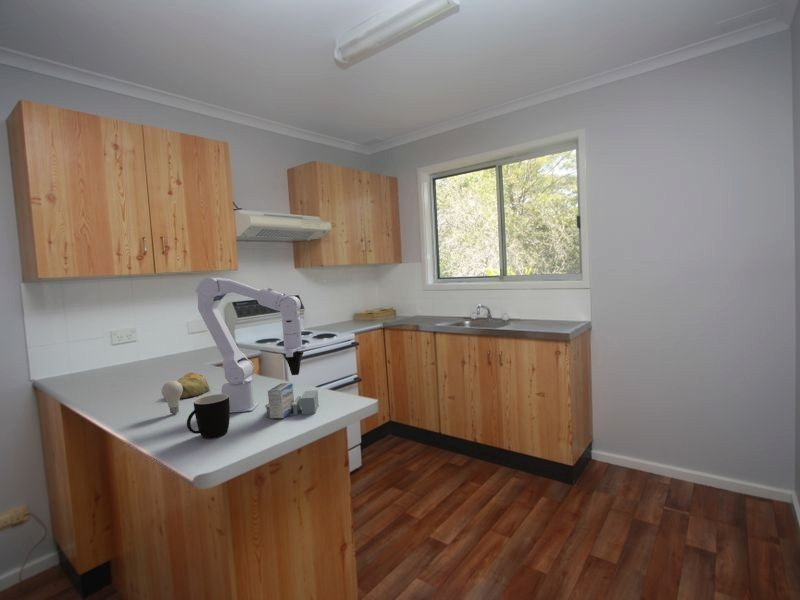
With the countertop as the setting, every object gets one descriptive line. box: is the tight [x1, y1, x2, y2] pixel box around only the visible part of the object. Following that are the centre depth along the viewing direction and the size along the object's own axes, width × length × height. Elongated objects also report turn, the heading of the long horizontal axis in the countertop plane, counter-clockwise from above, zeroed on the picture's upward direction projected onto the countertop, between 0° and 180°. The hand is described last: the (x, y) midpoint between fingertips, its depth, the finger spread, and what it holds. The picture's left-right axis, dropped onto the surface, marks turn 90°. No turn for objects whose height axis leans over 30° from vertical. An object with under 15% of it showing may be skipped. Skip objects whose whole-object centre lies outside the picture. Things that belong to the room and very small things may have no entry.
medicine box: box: [267, 382, 295, 419], centre depth 130 cm, size 8×4×9 cm, turn 168°
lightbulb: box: [161, 380, 183, 415], centre depth 138 cm, size 6×6×11 cm
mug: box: [186, 393, 231, 440], centre depth 116 cm, size 12×9×10 cm
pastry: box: [176, 372, 211, 399], centre depth 161 cm, size 14×12×8 cm
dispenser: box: [264, 389, 319, 418], centre depth 133 cm, size 15×9×5 cm, turn 93°
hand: (295, 374), depth 138 cm, fingers closed
